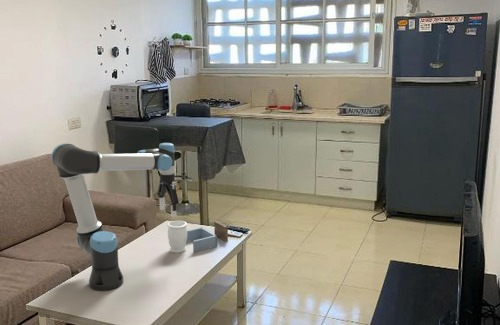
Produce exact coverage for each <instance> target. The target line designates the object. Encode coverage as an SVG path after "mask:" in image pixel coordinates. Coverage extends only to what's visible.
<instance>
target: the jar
mask: <svg viewBox="0 0 500 325" xmlns="http://www.w3.org/2000/svg"><path fill="white" fill-rule="evenodd" d="M187 225H188V223H187V221H184V220H173V221H169V222H168V223H167V228H168V229H167V239H168V244H169V247H170V248H169V249H170V252H172V253H176V254H177V253H178V254H180V253H183V252H185V251H186V250H187V248H186V245H187V243H188V241H187V231H188V228H187Z"/></svg>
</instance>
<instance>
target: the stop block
mask: <svg viewBox="0 0 500 325" xmlns="http://www.w3.org/2000/svg"><path fill="white" fill-rule="evenodd" d="M213 223H214V225H213V226H214V234H215V235H216V236H217V239H219V240H220V241H222V242H224V243H227V242H228V241H229V240H228V239H229V231H228V230H229V227H228V225H226V224H225V223H222V222H221V221H219V220H215V221H214V222H213Z"/></svg>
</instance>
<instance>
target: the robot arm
mask: <svg viewBox="0 0 500 325" xmlns="http://www.w3.org/2000/svg"><path fill="white" fill-rule="evenodd" d="M175 151H176V150H175V145H174V144H173V143H171V142H163V143H159V145H158V147H157V148H150V149H149V148H148V149H141V150H138V151H137V153H100V152H98V151H95V150H93V151H91V150H86V149H82V148H80V147H78V146H76V145H74V144H72V143H66V142H65V143H60V144H59V145H57V146H56V147H54V149H53V150H52V152H51V161H52V164H54V166H56V168H57V172H58V175H59V178H60V179H62V180H64V182H65V186H66V189H67V193H68V196H69V199H70V202H71V206H72V209H73V212H74V215H75V218H76V221H77V224H78V226H77V228H76V233H77V235H76V241H77V243H78V246H79V248H80V249H81V250H83V251H84V252H85V253H87V254H88V255H89V256H90V258H91V272H90V275H89V279H88V285H89V286H88V287H89V288H90V289H91V290H94V291H99V292H104V291H105V292H106V291H110V290H114V289H117V288H119V287H120V286H122V285H123V283H124V276H123V273H122V270H121V269H120V266H119V248H118V246H119V245H118V244H119V243H118V242H119V241H118V238H117V235H116V234H115V233H114V232H111V231H107V230H104V227H103V225H102V223H103V222H101V221H100V220H98V218H97V216H96V212H95V208H94V205H93V201H92V198H91V195H90V191H89V187H88V184H87V180H86V178H85V175H87V174H88V175H89V174H91V175H92V174H98V173H100V172H108V171H109V172H110V171H115V172H116V171H142V170H143V171H145V170H159V185H158V188H157V193H156V195H157V196H158V198H159V210H160V211H163V210H165V209H166V193H167V194H168V197H169V200H170V202H171V204H170V218H173V217H177V216H178V215H177V205H179V204H180V202H179V198H178V194H177V189H176V184H173V182H174V181H175V180H176V178H175V177H176V176H175V169H176V166H175Z"/></svg>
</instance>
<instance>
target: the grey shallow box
mask: <svg viewBox="0 0 500 325" xmlns="http://www.w3.org/2000/svg"><path fill="white" fill-rule="evenodd" d="M191 241H192V244H193V246H192V249H193V250H192V251H193V252H194V253H196V252H200V251H204V250H208V249H212V248H216V247H218V238H217V236H216V235H215V233H213V232H211V231H209V230H208V229H206V228H204V227H203V226H202V227H197V228H193V229H189V230H188V229H187V242H191Z"/></svg>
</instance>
